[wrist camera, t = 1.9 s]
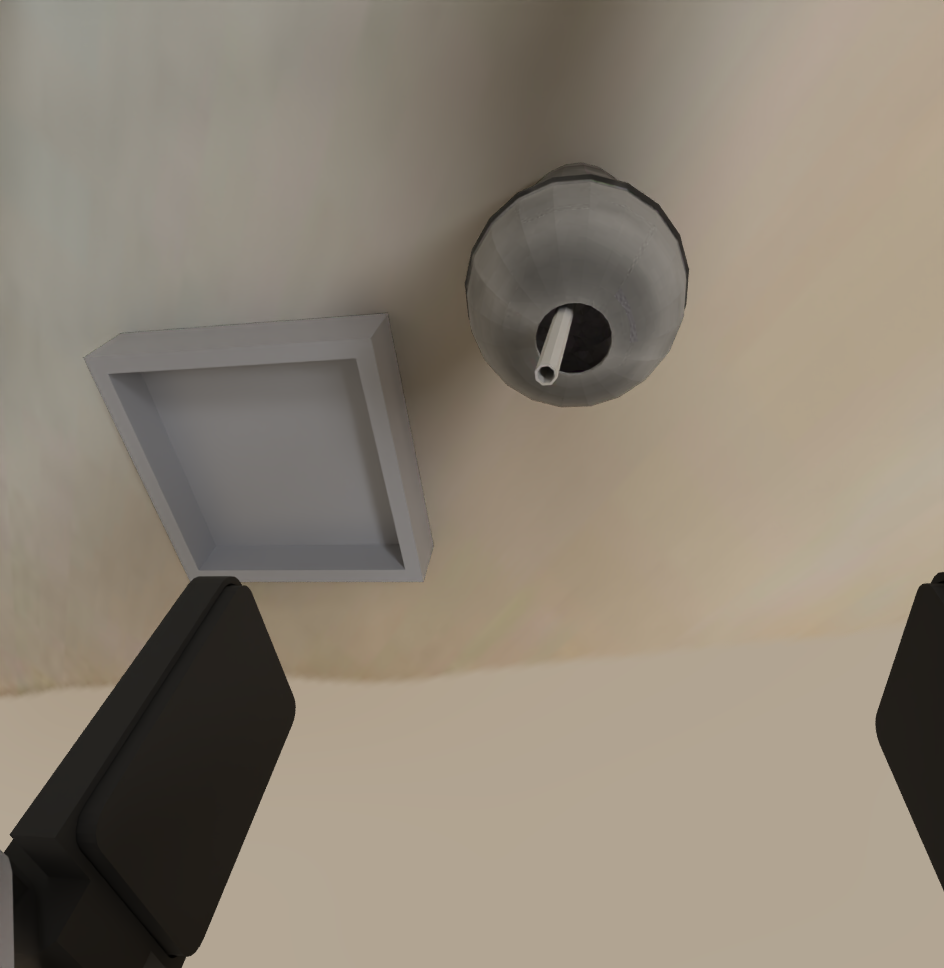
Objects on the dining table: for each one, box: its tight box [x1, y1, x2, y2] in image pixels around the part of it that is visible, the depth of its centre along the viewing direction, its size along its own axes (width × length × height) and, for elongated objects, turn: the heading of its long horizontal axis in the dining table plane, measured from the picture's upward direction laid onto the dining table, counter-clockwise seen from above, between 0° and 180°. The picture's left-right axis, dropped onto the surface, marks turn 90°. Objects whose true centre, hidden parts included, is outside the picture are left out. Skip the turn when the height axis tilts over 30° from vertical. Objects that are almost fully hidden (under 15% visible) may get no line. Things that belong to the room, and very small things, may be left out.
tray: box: [84, 313, 434, 582], centre depth 39 cm, size 16×16×4 cm
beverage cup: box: [465, 163, 689, 407], centre depth 23 cm, size 7×7×20 cm
